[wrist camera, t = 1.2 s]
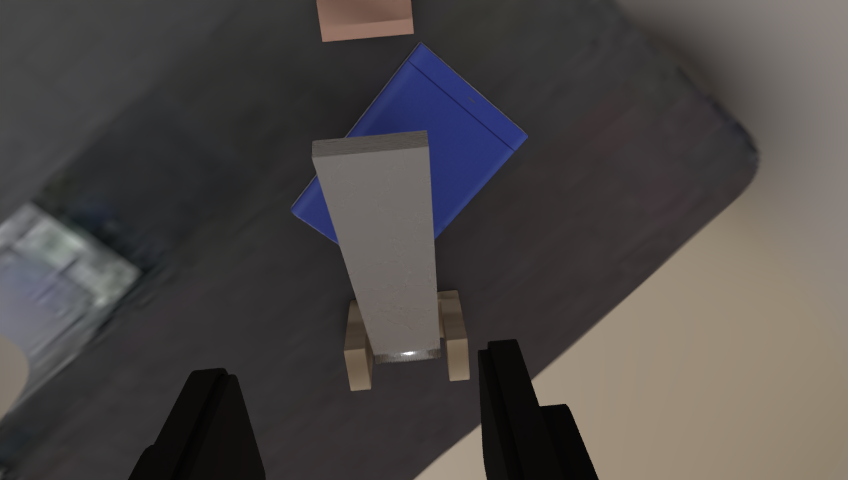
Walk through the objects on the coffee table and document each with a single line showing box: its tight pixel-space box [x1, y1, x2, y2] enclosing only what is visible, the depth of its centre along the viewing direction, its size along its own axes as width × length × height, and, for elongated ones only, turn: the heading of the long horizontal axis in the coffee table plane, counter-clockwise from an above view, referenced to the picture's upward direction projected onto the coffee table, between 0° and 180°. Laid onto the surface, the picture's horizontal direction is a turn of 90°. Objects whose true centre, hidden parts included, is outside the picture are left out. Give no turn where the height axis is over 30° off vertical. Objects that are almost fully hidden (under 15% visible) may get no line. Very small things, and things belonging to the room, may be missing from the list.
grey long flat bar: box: [312, 130, 441, 365], centre depth 27 cm, size 19×4×1 cm, turn 5°
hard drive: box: [291, 41, 528, 245], centre depth 33 cm, size 2×8×12 cm
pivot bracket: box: [344, 290, 470, 391], centre depth 35 cm, size 3×7×6 cm, turn 95°
